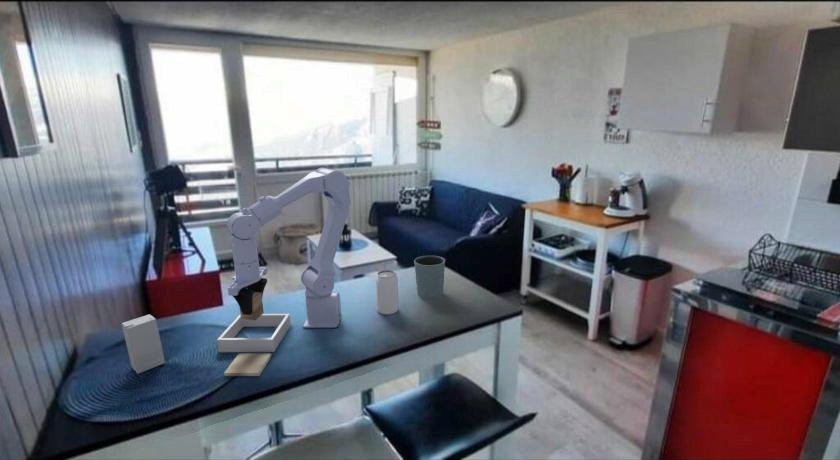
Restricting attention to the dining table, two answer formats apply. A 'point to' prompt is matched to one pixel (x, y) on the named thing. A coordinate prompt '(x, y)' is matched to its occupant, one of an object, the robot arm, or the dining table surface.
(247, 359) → the birch pad
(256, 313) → the oak block
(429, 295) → the grey-green cup
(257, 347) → the white square frame
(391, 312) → the can
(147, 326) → the skincare box
